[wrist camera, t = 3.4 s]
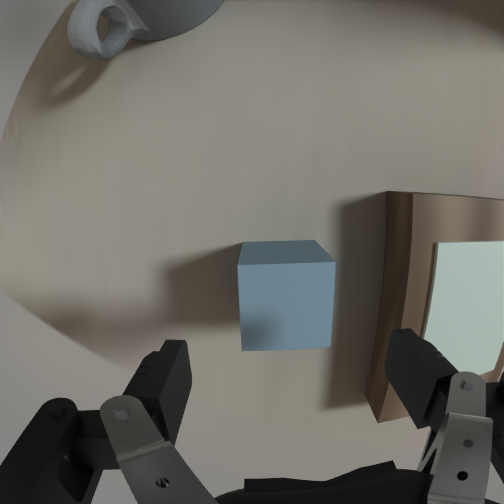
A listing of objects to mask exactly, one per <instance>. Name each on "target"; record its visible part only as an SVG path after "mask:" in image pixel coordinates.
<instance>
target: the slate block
mask: <svg viewBox="0 0 504 504" xmlns="http://www.w3.org/2000/svg"><path fill="white" fill-rule="evenodd" d="M335 269H336V262H335V261H334V260H333V259H332V257H331V256H330V255H329V254H328V253H327V252H326V251H325V250H324V249H323V248H322V247H321V246H320V245H319V244H318V243H317V242H316V241H315V240H300V241H265V242H243V244H242V248H241V252H240V256H239V260H238V264H237V270H238V289H239V308H240V325H241V342H242V351H265V350H290V349H307V348H321V347H330V345H331V333H332V321H333V307H334V290H335Z"/></svg>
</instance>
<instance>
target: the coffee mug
mask: <svg viewBox="0 0 504 504" xmlns="http://www.w3.org/2000/svg"><path fill="white" fill-rule="evenodd" d="M223 1H224V0H79V1H78V2H77V4H76V6H75V7H74V9H73V11H72V13H71V15H70V18H69V20H68V26H67V36H68V40H69V42H70V43H71V45H72V47H73V48H74V49H75V50H76V51H77V52H78V53H80V54H81V55H83V56H85V57H88V58H92V59H97V60H105V59H109V58H111V57H114V56H116V55H117V54H118V53H119V52H120V51H121V50H122V49H123V48H124V47H125V46H126V44H127V43H128V42H129V40H130V39H131V38H133V39H137V40H146V41H150V40H161V39H166V38H170V37H174V36H177V35H179V34H182V33H185V32H187V31H189V30H191V29H193V28H195V27H197V26H198V25H200V24H201V23H203V22H204V21H206V20H207V19H208V18H209V17H211V16H212V15H213V14H214V13H215V12H216V11H217V10H218V8H219V7H220V6H221V4H222V3H223ZM100 14H102V15H103V16H104V17H105V18H106V19H107V20H108V21H109V30H108V33H107V35H106V37H105V39H104V40H103V41H101V40H100V39H99V37H98V34H97V29H96V27H97V23H98V20H99V16H100Z"/></svg>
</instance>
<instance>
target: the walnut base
mask: <svg viewBox="0 0 504 504" xmlns="http://www.w3.org/2000/svg"><path fill="white" fill-rule="evenodd" d="M405 328H411V329H412V330H413V331H414V332H415V333H416V334H417V335H418V336H419V337H420V338H423V339H425V340H427V341H428V342H430V343H432V344H433V345H434V346H435V347H436V348H437V349H438V351H440V352H441V353H442V354H443V356H445V358H446V359H447V360H448V361H449V362H450V363H451V364H452V365H453V366H454V367H455V368H456V369H457V370H458V371H459V372H463V371H467V372H473V373H475V374H478V375H479V376H481V377H482V378H483V379H484V381H485V383H491V382H497V381H498V379H499V376H500V374H501V371H502V369H503V366H504V199H495V198H485V197H475V196H463V195H451V194H436V193H420V192H399V191H387V226H386V248H385V263H384V275H383V286H382V295H381V304H380V312H379V320H378V327H377V334H376V340H375V346H374V352H373V358H372V363H371V368H370V373H369V378H368V383H367V388H366V392H365V396H366V398H367V400H368V402H369V405H370V407H371V409H372V411H373V414H374V416H375V418H376V420H377V423H380V422H385V421H390V420H394V419H399V418H403V417H407V416H410V415H409V413H408V412H407V410H406V408H405V407H404V405H403V403H402V402H401V400H400V398H399V397H398V395H397V393H396V392H395V390H394V389H393V387H392V385H391V384H390V382H389V380H388V379H387V377H386V375H385V368H384V365H385V359H386V354H387V349H388V344H389V338H390V334H391V332H392V331H393V330H398V329H405Z"/></svg>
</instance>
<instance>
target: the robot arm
mask: <svg viewBox="0 0 504 504" xmlns="http://www.w3.org/2000/svg"><path fill="white" fill-rule="evenodd" d="M384 368H385V375H386V377H387V379H388V380H389V382H390V384H391V385H392V387H393V389H394V390H395V392H396V393H397V395H398V397H399V398H400V400H401V402H402V403H403V405H404V407H405V408H406V410H407V412H408V413H409V415H410V417H411V418H412V420H413V422H414V424H415V425H416V427H417V429H420V428H424V427H427V426H430V427H431V430H430V432H429V434H428V437H427V440H426V444H425V447H424V450H423V453H422V457H421V459H420V462H419V465H418V468H417V470H416V471H415V470H408V469H396V466H395V464H394V462H393V460H392V461H388V462H384V463H380V464H376V465H371V466H366V467H362V468H358V469H356V470H353V471H351V472H349V473H346V474H343V475H341V476H338V477H336V478H333V479H330V480H327V481H310V480H299V479H290V478H266V479H245V481H244V488H243V489H239V490H235V491H231V492H228V493H225V494H222V495H220V496H218V497H216V498H213V497H212V495H211V494H210V493H209V492H208V491H207V489H206V488H205V487H204V486H203V484H202V483H201V482H200V481H199V479H198V478H197V477H196V476H195V474H194V473H193V472H192V470H191V469H190V468H189V467H188V465H187V464H186V463H185V461H184V460H183V458H182V457H181V456H180V454H179V453H178V452H177V450H176V449H175V447H174V445H175V442H176V438H177V434H178V431H179V428H180V424H181V421H182V418H183V414H184V411H185V407H186V404H187V400H188V397H189V394H190V390H191V386H192V373H191V367H190V360H189V354H188V347H187V343H186V341H185V340H165V342H164V344H163V346H162V347H161V349H160V351H159V352H158V351H153V352H151V353H150V354H149V355H147V356H146V357H145V358H144V359H143V360H142V362H141V364H140V365H139V367H138V369H137V370H136V372H135V374H134V376H133V377H132V379H131V381H130V382H129V384H128V386H127V387H126V389H125V391H124V393H123V394H122V395H121V396H116V397H112V398H110V399H108V400H107V401H105V402H104V403H103V404H102V406H101V408H100V410H86V411H78V409H77V407H76V405H75V403H74V402H73V401H71V400H70V399H67V398H55V399H52V400H49V401H47V402H46V403H45V404H43V405H42V406H41V408H40V409H39V410H38V412H37V413H36V414H35V416H34V417H33V419H32V420H31V421H30V423H29V424H28V426H27V427H26V428H25V430H24V431H23V433H22V434H21V436H20V437H19V439H18V440H17V441H16V443H15V445H14V446H13V447H12V449H11V450H10V452H9V453H8V455H7V456H6V458H5V459H4V461H3V462H2V464H1V466H0V504H91V502H92V499H93V496H94V493H95V491H96V488H97V485H98V482H99V480H100V477H101V474H102V472H103V470H107V469H108V470H111V469H121V471H122V473H123V475H124V477H125V479H126V481H127V483H128V485H129V487H130V489H131V491H132V493H133V495H134V497H135V499H136V501H137V502H138V504H499V503H496V502H494V501H491V500H488V499H486V498H485V495H486V489H487V484H488V477H489V469H490V461H491V463H492V464H493V466H494V468H495V469H496V471H497V473H498V474H499V476H500V478H501V480H502V482H503V483H504V372H503V373H502V375H501V378H500V380H499V382H491V383H485V381H484V379H483V378H482V377H481V376H479V375H478V374H475V373H473V372H467V371H463V372H459V371H458V370H457V369H456V368H455V367H454V366H453V365H452V364H451V363H450V362H449V361H448V360H447V359H446V358H445V356H443V354H442V353H441V352H440V351H438V349H437V348H436V347H435V346H434V345H433V344H432V343H430V342H428V341H427V340H425V339H423V338H420V337H419V336H418V335H417V334H416V333H415V332H414V331H413V330H412V329H411V328H405V329H398V330H393V331H392V332H391V334H390V338H389V344H388V349H387V354H386V359H385V365H384Z"/></svg>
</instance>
